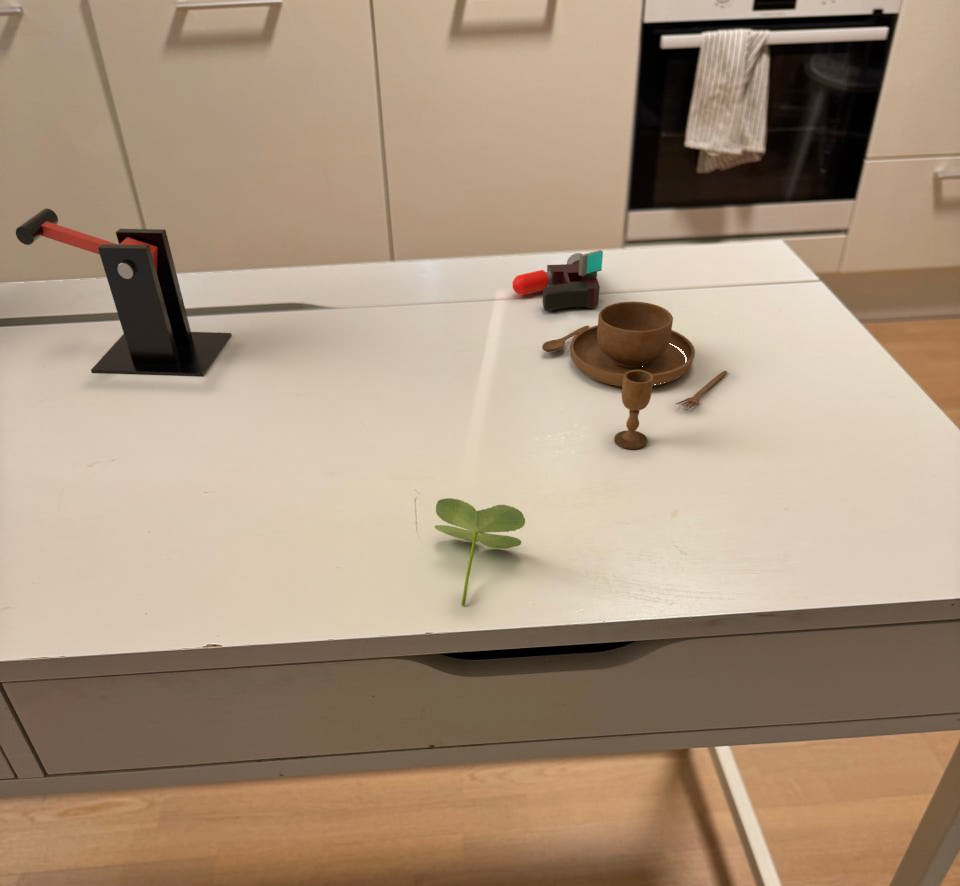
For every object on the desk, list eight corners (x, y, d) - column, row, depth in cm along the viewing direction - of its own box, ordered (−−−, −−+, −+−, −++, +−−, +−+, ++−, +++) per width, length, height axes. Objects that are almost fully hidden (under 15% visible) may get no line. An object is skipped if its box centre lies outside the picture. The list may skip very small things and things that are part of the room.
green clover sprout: (466, 628, 64) (481, 546, 66) (537, 616, 58) (552, 526, 60) (386, 597, 60) (404, 511, 62) (453, 581, 54) (472, 486, 56)
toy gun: (589, 270, 102) (592, 227, 99) (605, 312, 94) (609, 266, 90) (507, 273, 102) (508, 230, 99) (516, 315, 93) (517, 269, 90)
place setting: (741, 365, 84) (754, 305, 80) (643, 455, 72) (652, 389, 68) (586, 322, 92) (590, 265, 88) (474, 397, 80) (473, 335, 76)
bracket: (94, 381, 83) (51, 255, 75) (130, 341, 90) (94, 220, 82) (205, 385, 82) (173, 257, 74) (233, 344, 89) (207, 222, 81)
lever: (16, 246, 77) (14, 219, 75) (42, 227, 81) (40, 201, 79) (142, 286, 78) (143, 261, 77) (162, 266, 82) (163, 241, 80)
